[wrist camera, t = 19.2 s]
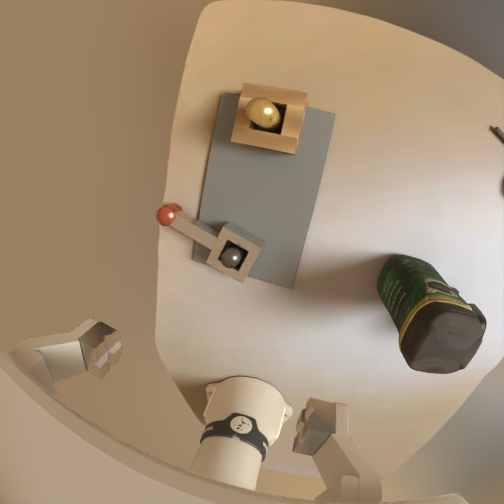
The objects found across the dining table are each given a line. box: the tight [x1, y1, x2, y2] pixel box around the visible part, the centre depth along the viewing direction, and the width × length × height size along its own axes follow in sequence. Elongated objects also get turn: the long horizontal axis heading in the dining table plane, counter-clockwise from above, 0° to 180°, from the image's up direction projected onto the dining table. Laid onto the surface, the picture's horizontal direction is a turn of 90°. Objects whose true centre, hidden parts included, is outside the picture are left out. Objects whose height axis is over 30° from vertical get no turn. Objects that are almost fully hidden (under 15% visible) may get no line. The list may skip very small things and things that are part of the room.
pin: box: [246, 96, 284, 132], centre depth 30 cm, size 3×3×9 cm
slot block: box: [231, 83, 308, 155], centre depth 32 cm, size 8×8×4 cm
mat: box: [193, 94, 335, 289], centre depth 38 cm, size 26×16×1 cm, turn 168°
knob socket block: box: [157, 204, 266, 283], centre depth 40 cm, size 16×6×3 cm, turn 63°
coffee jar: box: [377, 255, 483, 374], centre depth 29 cm, size 10×8×19 cm
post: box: [221, 243, 247, 268], centre depth 39 cm, size 2×2×5 cm
